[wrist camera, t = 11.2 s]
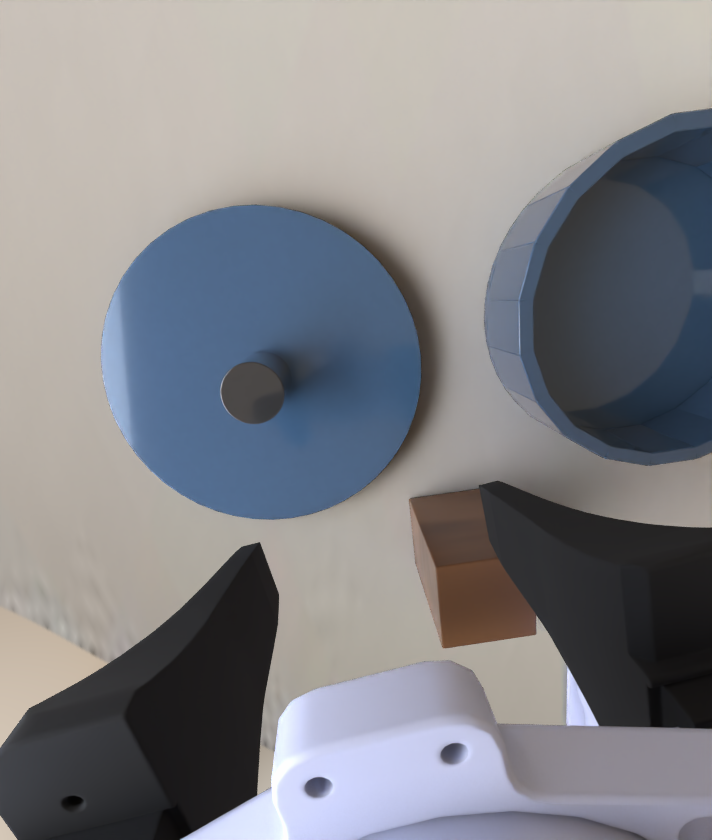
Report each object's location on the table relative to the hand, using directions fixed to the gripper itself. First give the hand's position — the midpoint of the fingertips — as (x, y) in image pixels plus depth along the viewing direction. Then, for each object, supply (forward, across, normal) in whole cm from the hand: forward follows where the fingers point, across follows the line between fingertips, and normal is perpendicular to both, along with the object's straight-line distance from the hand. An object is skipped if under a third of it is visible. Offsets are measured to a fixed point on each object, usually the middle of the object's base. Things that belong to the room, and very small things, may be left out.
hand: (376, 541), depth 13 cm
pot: (+8, -14, -4) cm, 17 cm away
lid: (+8, +3, -5) cm, 10 cm away
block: (+8, -4, +6) cm, 11 cm away
